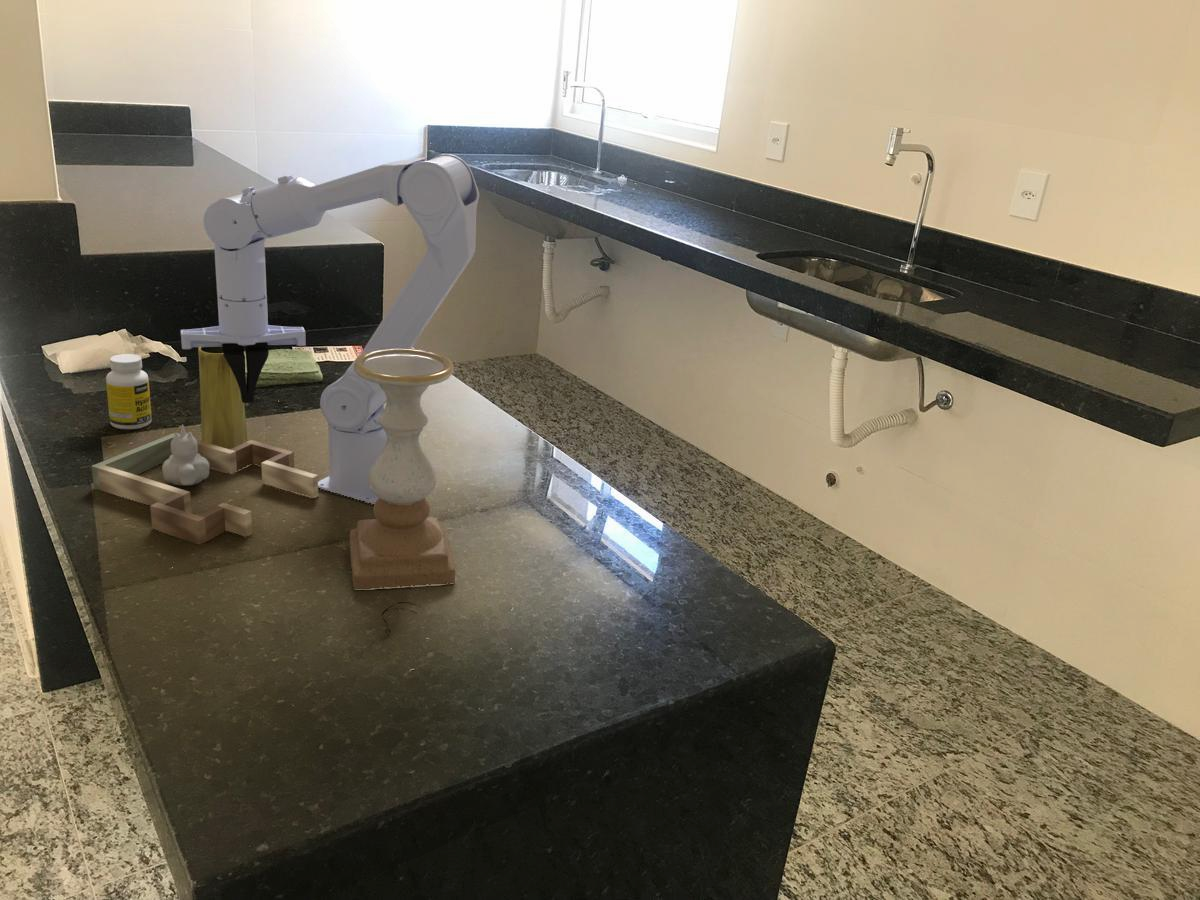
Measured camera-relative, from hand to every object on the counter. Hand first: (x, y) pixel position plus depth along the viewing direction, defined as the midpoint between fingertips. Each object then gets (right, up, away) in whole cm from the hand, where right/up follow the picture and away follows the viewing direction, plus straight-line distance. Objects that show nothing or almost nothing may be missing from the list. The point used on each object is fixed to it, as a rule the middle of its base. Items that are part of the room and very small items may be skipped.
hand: (247, 399), depth 124 cm
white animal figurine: (-7, -11, -2) cm, 13 cm away
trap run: (-4, -12, -3) cm, 13 cm away
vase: (-7, -6, +10) cm, 13 cm away
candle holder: (+23, -19, -15) cm, 33 cm away
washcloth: (-11, +6, +38) cm, 40 cm away
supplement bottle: (-22, -3, +14) cm, 26 cm away
